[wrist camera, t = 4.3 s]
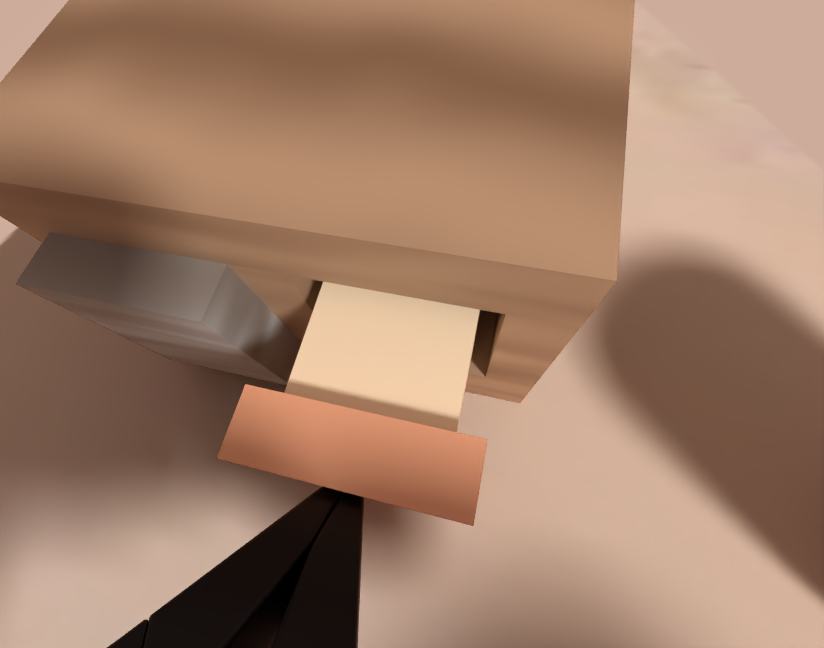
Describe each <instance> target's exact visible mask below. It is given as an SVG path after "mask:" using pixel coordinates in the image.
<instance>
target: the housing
mask: <svg viewBox="0 0 824 648" xmlns="http://www.w3.org/2000/svg"><path fill="white" fill-rule="evenodd" d="M634 4H635V0H69V1H68V2H67V3H66V5H65V6H64V7H63V8H62V9H61V11H60V12H59V13H58V14H57V15H56V17H55V18H54V19H53V20H52V21H51V23H50V24H49V25H48V26H47V27H46V29H45V30H44V31H43V32H42V33H41V35H40V36H39V37H38V38H37V39H36V41H35V42H34V43H33V44H32V45H31V47H30V48H29V49H28V50H27V51H26V53H25V54H24V55H23V56H22V57H21V59H20V60H19V61H18V62H17V63H16V65H15V66H14V67H13V68H12V69H11V71H10V72H9V73H8V74H7V75H6V77H5V78H4V79H3V80H2V81H1V83H0V216H1V217H3V218H4V219H6V220H8V221H9V222H11V223H13V224H14V225H16V226H17V227H19V228H20V229H22V230H24V231H25V232H27V233H28V234H30V235H32V236H33V237H35V238H36V239H38V240H40V241H41V242H43V243H42V245H41V246H40V248H39V249H38V251H37V252H36V254H35V255H34V257H33V258H32V260H31V261H30V263H29V265H28V266H27V268H26V269H25V271H24V272H23V274H22V275H21V277H20V278H19V280H18V281H17V283H16V284H17V285H19V286H21V287H23V288H25V289H27V290H29V291H31V292H33V293H35V294H38V295H40V296H42V297H44V298H46V299H48V300H50V301H52V302H54V303H56V304H58V305H60V306H62V307H64V308H66V309H68V310H70V311H72V312H74V313H76V314H78V315H80V316H82V317H85V318H87V319H89V320H91V321H93V322H95V323H97V324H99V325H101V326H103V327H105V328H107V329H109V330H111V331H113V332H115V333H117V334H119V335H121V336H123V337H125V338H127V339H129V340H132V341H134V342H136V343H138V344H140V345H142V346H144V347H146V348H148V349H150V350H152V351H154V352H156V353H158V354H160V355H162V356H164V357H166V358H168V359H171V360H175V361H180V362H184V363H189V364H193V365H198V366H202V367H206V368H211V369H215V370H220V371H224V372H229V373H233V374H237V375H242V376H246V377H251V378H255V379H260V380H264V381H269V382H273V383H277V384H282V385H286V386H287V383H288V380H289V378H290V375H291V372H292V369H293V366H294V363H295V360H296V358H297V355H298V352H299V349H300V346H301V343H302V341H303V338H304V335H305V332H306V329H307V326H308V324H309V321H310V318H311V315H312V312H313V309H314V307H315V304H316V301H317V298H318V295H319V292H320V289H321V287H322V284H323V282H329V283H334V284H340V285H345V286H351V287H356V288H362V289H368V290H373V291H379V292H384V293H390V294H395V295H401V296H406V297H412V298H418V299H423V300H429V301H434V302H440V303H445V304H451V305H457V306H462V307H468V308H473V309H479V310H480V315H479V320H478V325H477V331H476V336H475V341H474V346H473V351H472V357H471V362H470V367H469V372H468V378H467V383H466V388H465V391H466V392H471V393H475V394H480V395H485V396H490V397H494V398H499V399H504V400H508V401H513V402H518V403H520V402H521V401H522V400H523V399H524V397H525V396H526V395H527V394H528V392H529V391H530V390H531V389H532V387H533V386H534V385H535V384H536V382H537V381H538V380H539V379H540V377H541V376H542V375H543V374H544V372H545V371H546V370H547V368H548V367H549V366H550V365H551V363H552V362H553V361H554V360H555V358H556V357H557V356H558V355H559V353H560V352H561V351H562V350H563V348H564V347H565V346H566V345H567V343H568V342H569V341H570V340H571V338H572V337H573V336H574V334H575V333H576V332H577V331H578V329H579V328H580V327H581V326H582V324H583V323H584V322H585V321H586V319H587V318H588V317H589V316H590V314H591V313H592V312H593V311H594V309H595V308H596V307H597V306H598V304H599V303H600V302H601V301H602V299H603V298H604V297H605V295H606V294H607V293H608V292H609V290H610V289H611V288H612V287H613V285H614V284H615V283H616V282H617V273H618V258H619V242H620V226H621V210H622V194H623V178H624V162H625V146H626V131H627V115H628V99H629V83H630V67H631V51H632V35H633V20H634Z"/></svg>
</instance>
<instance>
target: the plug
mask: <svg viewBox="0 0 824 648" xmlns="http://www.w3.org/2000/svg"><path fill="white" fill-rule="evenodd" d="M479 315H480V310H479V309H473V308H468V307H462V306H457V305H451V304H445V303H440V302H434V301H429V300H423V299H418V298H412V297H406V296H401V295H395V294H390V293H384V292H379V291H373V290H368V289H362V288H356V287H351V286H345V285H340V284H334V283H329V282H323V284H322V287H321V289H320V292H319V295H318V298H317V301H316V304H315V307H314V309H313V312H312V315H311V318H310V321H309V324H308V326H307V329H306V332H305V335H304V338H303V341H302V343H301V346H300V349H299V352H298V355H297V358H296V360H295V363H294V366H293V369H292V372H291V375H290V378H289V380H288V383H287V386H286V389H285V392H284V393H282V392H278V391H274V390H269V389H265V388H260V387H256V386H252V385H247V384H245V386H244V389H243V391H242V394H241V397H240V399H239V402H238V404H237V407H236V409H235V412H234V414H233V417H232V420H231V422H230V425H229V427H228V430H227V432H226V435H225V438H224V440H223V443H222V445H221V448H220V450H219V453H218V456H217V459H221V460H225V461H228V462H232V463H236V464H240V465H244V466H247V467H251V468H255V469H259V470H263V471H266V472H270V473H274V474H278V475H282V476H285V477H289V478H293V479H297V480H301V481H304V482H308V483H312V484H316V485H319V486H323V487H327V488H331V489H335V490H338V491H342V492H346V493H350V494H354V495H357V496H361V497H365V498H369V499H373V500H376V501H380V502H384V503H388V504H392V505H395V506H399V507H403V508H407V509H411V510H414V511H418V512H422V513H426V514H430V515H433V516H437V517H441V518H445V519H448V520H452V521H456V522H460V523H464V524H467V525H471V526H473V525H474V519H475V513H476V507H477V500H478V494H479V488H480V482H481V476H482V470H483V464H484V458H485V452H486V446H487V439H483V438H479V437H474V436H470V435H466V434H461V433H457V430H458V424H459V419H460V414H461V409H462V404H463V398H464V393H465V388H466V383H467V378H468V372H469V367H470V362H471V357H472V351H473V346H474V341H475V336H476V331H477V325H478V320H479Z"/></svg>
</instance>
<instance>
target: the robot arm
mask: <svg viewBox="0 0 824 648" xmlns="http://www.w3.org/2000/svg"><path fill="white" fill-rule="evenodd" d="M363 512H364V497H361V496H357V495H354V494H350V493H346V492H342V491H338V490H335V489H331V488H327V487H321V488H319V489H318V490H317V491H316V492H314V493H313V494H312V495H310V496H309V497H308V498H306V499H305V500H304V501H302V502H301V503H300V504H298V505H297V506H296V507H294V508H293V509H292V510H290V511H289V512H288V513H286V514H285V515H284V516H282V517H281V518H280V519H278V520H277V521H276V522H274V523H273V524H272V525H270V526H269V527H268V528H266V529H265V530H264V531H262V532H261V533H260V534H258V535H257V536H256V537H254V538H253V539H252V540H250V541H249V542H248V543H246V544H245V545H244V546H242V547H241V548H240V549H238V550H237V551H236V552H234V553H233V554H232V555H230V556H229V557H228V558H226V559H225V560H224V561H222V562H221V563H220V564H218V565H217V566H216V567H214V568H213V569H212V570H210V571H209V572H208V573H206V574H205V575H204V576H202V577H201V578H200V579H198V580H197V581H196V582H194V583H193V584H192V585H190V586H189V587H188V588H186V589H185V590H184V591H182V592H181V593H180V594H178V595H177V596H176V597H174V598H173V599H172V600H170V601H169V602H168V603H166V604H165V605H164V606H162V607H161V608H160V609H158V610H157V611H156V612H154V613H153V614H152V615H151V616H150V618H149V621H148V620H143V621H142V622H141V623H140V624H138V625H137V626H136V627H134V628H133V629H132V630H130V631H129V632H128V633H126V634H125V635H124V636H122V637H121V638H120V639H118V640H117V641H115V642H114V643H113V644H111V645H110V646H108V647H107V648H358V626H359V604H360V581H361V558H362V535H363Z"/></svg>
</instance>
